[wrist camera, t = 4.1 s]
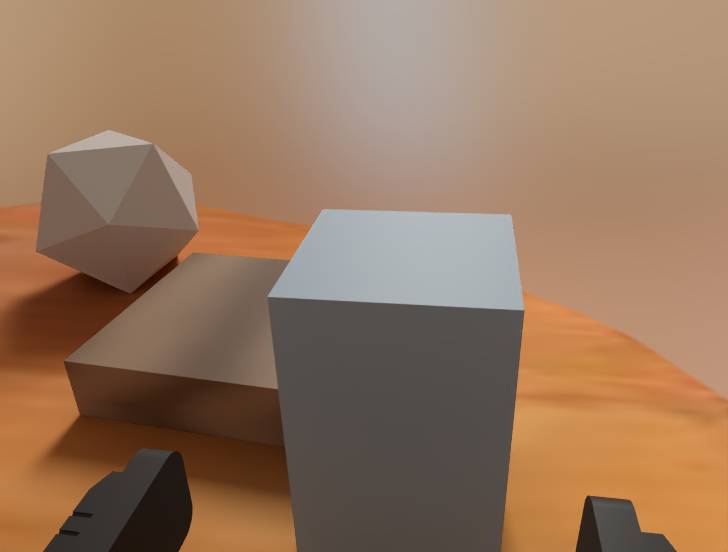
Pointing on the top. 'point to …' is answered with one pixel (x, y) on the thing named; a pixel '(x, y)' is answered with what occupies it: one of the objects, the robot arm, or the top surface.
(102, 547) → the robot arm
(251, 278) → the walnut base
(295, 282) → the gray block
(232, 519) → the top surface
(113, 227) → the die
